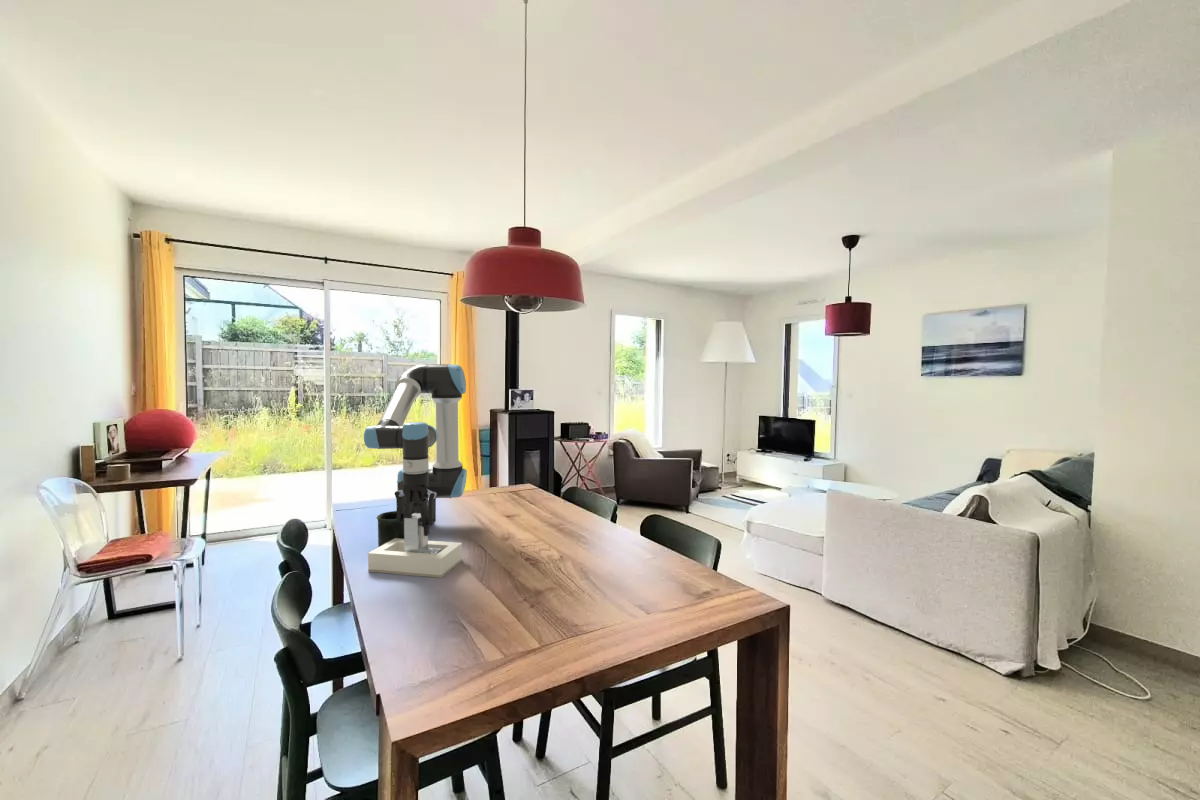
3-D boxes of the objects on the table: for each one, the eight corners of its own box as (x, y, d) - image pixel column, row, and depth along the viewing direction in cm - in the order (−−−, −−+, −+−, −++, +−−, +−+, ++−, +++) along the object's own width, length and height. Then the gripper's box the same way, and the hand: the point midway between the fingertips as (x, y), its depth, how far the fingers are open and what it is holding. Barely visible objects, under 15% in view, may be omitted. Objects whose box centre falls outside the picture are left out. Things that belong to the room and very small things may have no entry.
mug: (386, 557, 162) (385, 521, 161) (367, 547, 171) (366, 513, 171) (417, 549, 170) (416, 515, 169) (397, 539, 179) (396, 507, 179)
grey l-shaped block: (415, 552, 158) (414, 512, 157) (442, 554, 156) (442, 514, 156) (404, 559, 152) (404, 518, 151) (432, 561, 150) (432, 519, 150)
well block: (395, 555, 164) (394, 538, 163) (462, 560, 160) (462, 543, 159) (368, 571, 150) (368, 553, 150) (441, 577, 146) (440, 558, 145)
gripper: (383, 472, 151) (384, 547, 152) (435, 475, 148) (436, 551, 149) (397, 468, 158) (397, 539, 160) (447, 470, 155) (448, 542, 157)
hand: (416, 544), depth 154 cm, fingers closed on grey l-shaped block, 4 cm apart
